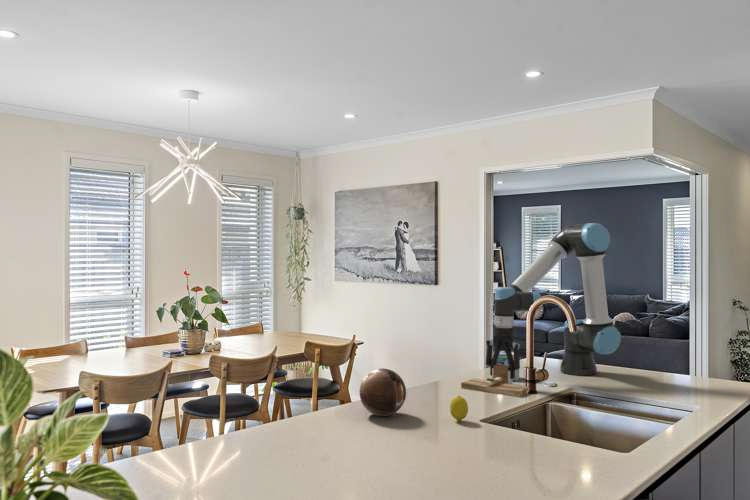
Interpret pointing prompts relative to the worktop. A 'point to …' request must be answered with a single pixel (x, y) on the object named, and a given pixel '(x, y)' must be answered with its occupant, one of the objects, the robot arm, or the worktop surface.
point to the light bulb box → (506, 362)
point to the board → (495, 387)
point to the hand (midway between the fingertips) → (502, 385)
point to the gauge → (499, 374)
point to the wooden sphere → (382, 392)
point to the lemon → (459, 408)
